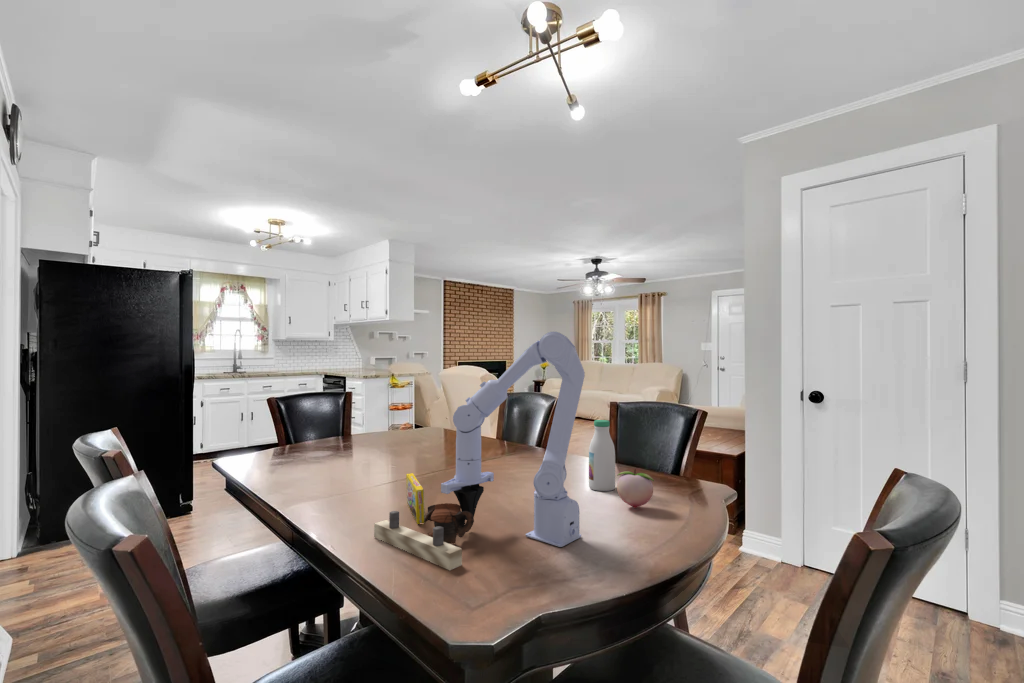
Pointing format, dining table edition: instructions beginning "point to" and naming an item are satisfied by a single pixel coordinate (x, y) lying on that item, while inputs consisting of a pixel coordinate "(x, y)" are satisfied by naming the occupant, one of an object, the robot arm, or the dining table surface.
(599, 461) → the milk bottle
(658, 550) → the dining table surface
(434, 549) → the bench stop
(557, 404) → the robot arm
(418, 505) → the candy box
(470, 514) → the pottery mug
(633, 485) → the decorative fruit
